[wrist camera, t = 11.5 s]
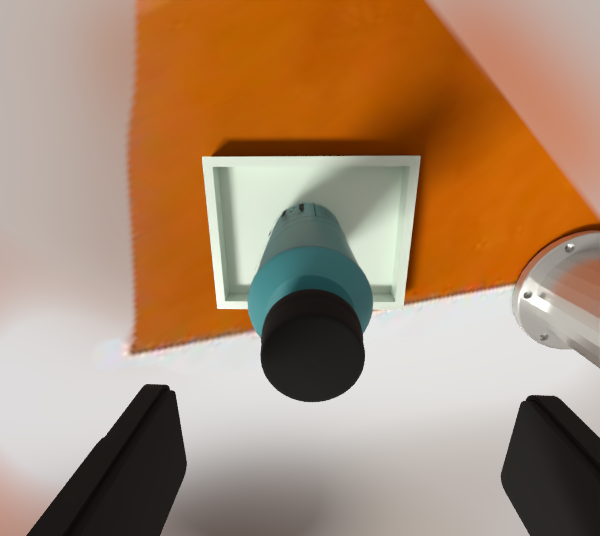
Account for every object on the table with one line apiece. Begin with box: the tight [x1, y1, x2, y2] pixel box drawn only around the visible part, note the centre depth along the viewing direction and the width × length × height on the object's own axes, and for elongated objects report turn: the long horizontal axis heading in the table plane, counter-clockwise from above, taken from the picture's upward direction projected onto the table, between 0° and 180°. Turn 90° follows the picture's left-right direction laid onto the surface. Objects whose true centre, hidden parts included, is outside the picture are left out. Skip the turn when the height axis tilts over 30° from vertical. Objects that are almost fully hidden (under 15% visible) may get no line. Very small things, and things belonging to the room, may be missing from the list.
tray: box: [202, 156, 421, 310], centre depth 29 cm, size 18×14×2 cm
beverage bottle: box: [248, 202, 373, 402], centre depth 21 cm, size 6×7×20 cm
